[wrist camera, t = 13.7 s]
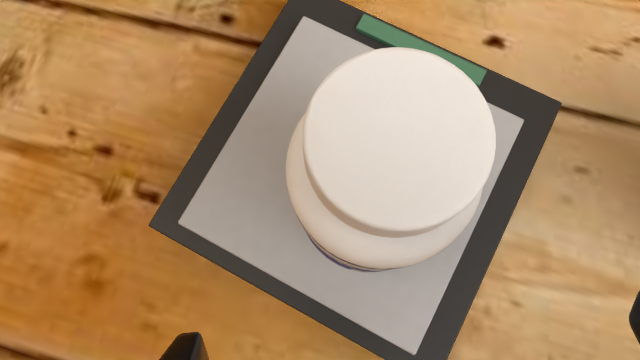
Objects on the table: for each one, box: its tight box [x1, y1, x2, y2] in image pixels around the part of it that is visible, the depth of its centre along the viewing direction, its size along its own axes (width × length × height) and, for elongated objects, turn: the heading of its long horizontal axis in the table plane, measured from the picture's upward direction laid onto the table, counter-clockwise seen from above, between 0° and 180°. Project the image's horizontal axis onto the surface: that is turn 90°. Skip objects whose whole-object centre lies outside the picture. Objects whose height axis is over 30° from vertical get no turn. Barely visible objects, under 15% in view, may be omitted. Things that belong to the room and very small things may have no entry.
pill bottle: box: [286, 47, 496, 272], centre depth 13 cm, size 5×5×9 cm
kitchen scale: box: [149, 0, 562, 360], centre depth 20 cm, size 13×13×3 cm
